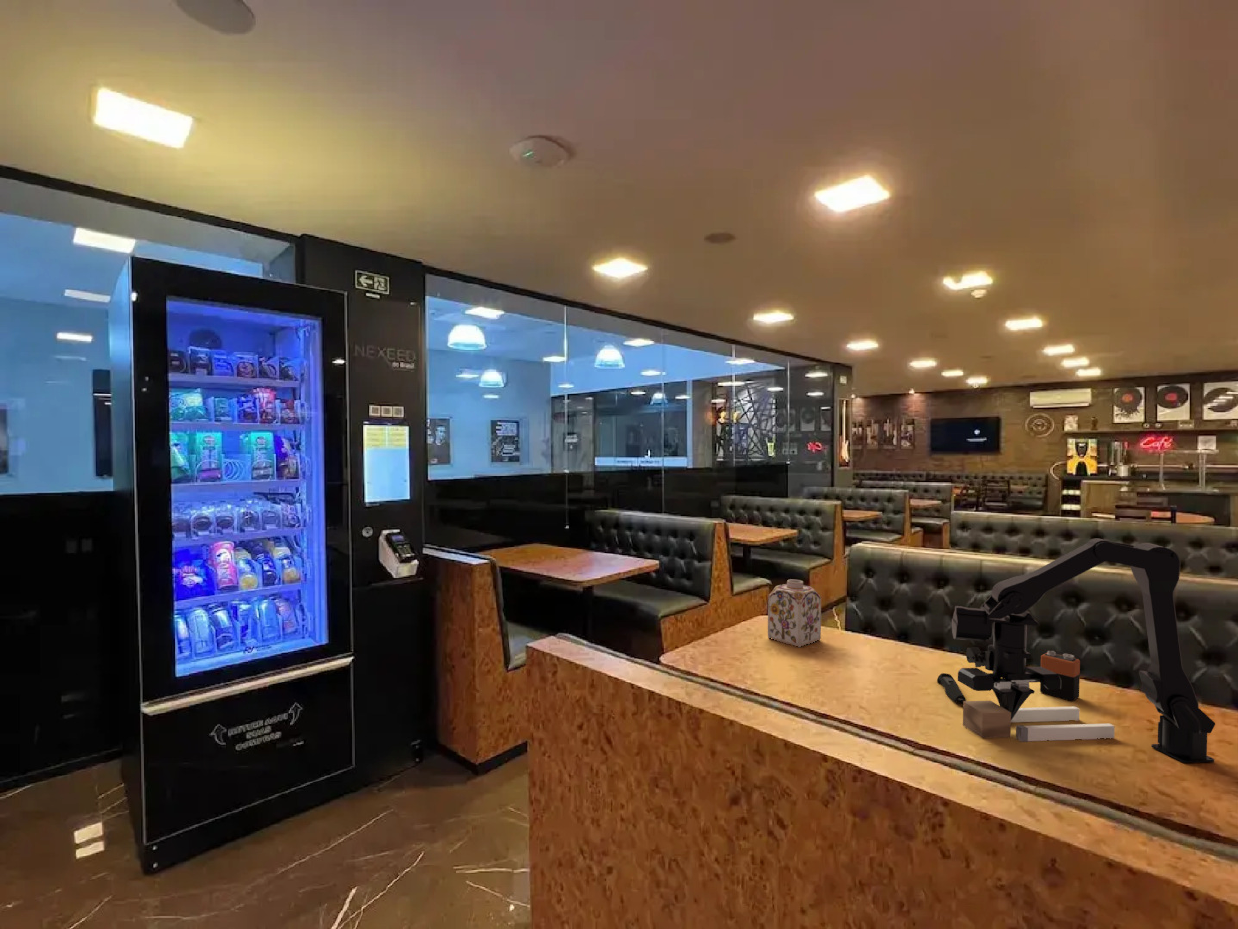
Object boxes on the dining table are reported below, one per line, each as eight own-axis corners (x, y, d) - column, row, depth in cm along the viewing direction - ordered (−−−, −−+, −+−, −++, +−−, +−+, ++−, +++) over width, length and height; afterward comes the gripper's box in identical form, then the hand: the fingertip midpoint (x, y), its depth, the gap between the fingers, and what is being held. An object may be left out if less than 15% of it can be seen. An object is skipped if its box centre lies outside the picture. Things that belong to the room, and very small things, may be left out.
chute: (1114, 738, 123) (1115, 725, 123) (1021, 741, 121) (1021, 728, 121) (1074, 717, 133) (1074, 705, 133) (986, 720, 131) (987, 708, 131)
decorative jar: (789, 632, 195) (789, 575, 195) (821, 640, 187) (823, 581, 186) (766, 639, 188) (767, 580, 187) (799, 648, 179) (800, 586, 179)
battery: (1073, 702, 142) (1074, 659, 141) (1039, 693, 147) (1040, 651, 147) (1079, 697, 144) (1080, 655, 144) (1046, 688, 150) (1047, 647, 149)
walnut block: (1010, 737, 123) (1011, 712, 123) (982, 738, 123) (982, 713, 123) (989, 724, 129) (990, 700, 129) (962, 725, 129) (963, 701, 129)
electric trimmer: (951, 707, 139) (951, 693, 139) (935, 682, 154) (936, 669, 154) (970, 709, 138) (970, 695, 138) (952, 684, 153) (952, 671, 153)
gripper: (1023, 632, 135) (1021, 702, 135) (942, 633, 133) (940, 705, 134) (1064, 648, 124) (1062, 725, 124) (976, 649, 122) (974, 727, 122)
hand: (1007, 719), depth 126 cm, fingers closed
